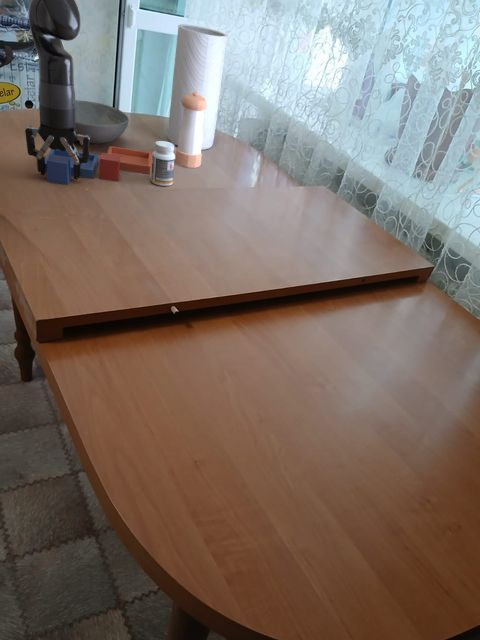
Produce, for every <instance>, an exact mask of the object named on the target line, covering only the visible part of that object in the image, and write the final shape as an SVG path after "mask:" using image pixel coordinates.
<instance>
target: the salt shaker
mask: <svg viewBox="0 0 480 640" xmlns="http://www.w3.org/2000/svg"><path fill="white" fill-rule="evenodd" d="M182 105H183V106H184V111H183V120H182V126H181V130H180V134H179V140H178V146H177V148H176V150H175V164H177V165H178V166H181V167H183V168H188V169H190V168H191V169H196V168H200V167H201V166H202V165H201V164H202V159H203V158H202V156H203V152H202V150H201V147H202V123H203V115H204V110H206V108H207V106H208V105H207V101H206V99H205V98H203V97H202V96H200V95H199V94H198V93H197V92H193V94H188V95H185V96H184V97H183V98H182Z"/></svg>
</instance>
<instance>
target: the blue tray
mask: <svg viewBox="0 0 480 640" xmlns="http://www.w3.org/2000/svg"><path fill="white" fill-rule="evenodd" d="M77 152H78V154H79V156H82V155H83V151H77ZM50 154H52V155H58V156H65V157H71V156H69V154H68V152H67V151H61V150H58V149H57V150H52V149H51V148H50V150H49V152H48V154H47V156H45V173H47V159H48V158H49V156H50ZM99 157H100V156H99V154H94V153H89V159H88V162H87V163H81V174H80V177H79V178H87V179H94V177H95V174H96V171H97V167H98V166H99ZM71 177H74V161H73V160H72V158H71Z"/></svg>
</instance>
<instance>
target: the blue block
mask: <svg viewBox="0 0 480 640" xmlns="http://www.w3.org/2000/svg"><path fill="white" fill-rule="evenodd" d="M46 177H47V178H46V179H47V183H53V184H61V185H69V183H70V181H71V179H72V175H71V157H65V156H58V155H52V154H50V156H49V158H48V159H47V172H46Z"/></svg>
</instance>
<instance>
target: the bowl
mask: <svg viewBox="0 0 480 640" xmlns="http://www.w3.org/2000/svg"><path fill="white" fill-rule="evenodd" d="M75 119H76V131H77V133H78V134H80V135H84V136H85V135H86V134H88V135H89V136H90V145H91V144H92V145H93V144H94V145H100V144H106V143H110V142H113V141H115V140H117V139H119V137H121V136H122V135H123V134H124V133H125V131H126V129H127V127H128V125H129V120H130V119H129V116H128V115H127V114H126V113H124V112H123V111H122V110H120V109H118V108H115V107H113V106H110V105H107V104H104V103H99V102H94V101H88V100H80V99H79V100H76V99H75ZM75 142H79V143H80V141H79V140H78V139H77V140H76V141H75Z"/></svg>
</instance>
